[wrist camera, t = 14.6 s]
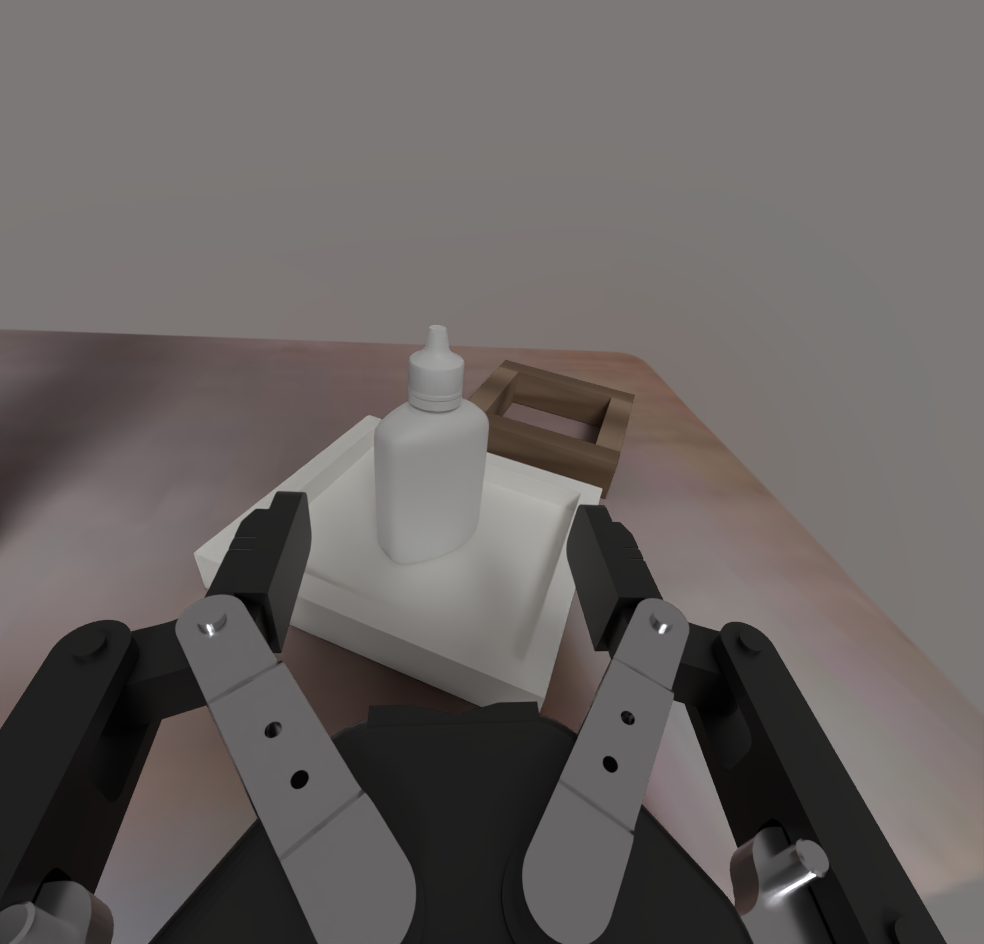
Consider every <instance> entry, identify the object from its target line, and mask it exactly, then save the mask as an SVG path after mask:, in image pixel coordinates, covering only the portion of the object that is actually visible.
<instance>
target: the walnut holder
mask: <svg viewBox="0 0 984 944" xmlns="http://www.w3.org/2000/svg"><path fill="white" fill-rule="evenodd" d="M634 396H635V395H633V394H629V393H626V392H622V391H618V390H615V389H611V388H607V387H603V386H600V385H596V384H592V383H589V382H585V381H581V380H578V379H574V378H570V377H567V376H563V375H559V374H556V373H552V372H548V371H544V370H541V369H537V368H533V367H530V366H526V365H522V364H519V363H515V362H511V361H508V360H505V361H504V362H503V363H502V364H501V365H500V366H499V368H498V369H497V370H496V371H495V372H494V373H493V374H492V375H491V376H490V377H489V378H488V379H487V380H486V382H485V383H484V384H483V385H482V386H481V387H480V388H479V389H478V390H477V391H476V392H475V393H474V394H473V395H472V397H471V398H470V399H469V400H468V401H470V402H472V403H474V404H475V405H476V406H478V407H479V408H480V409H481V410H482V411H483V412H484V413H485V414H486V416H487V418H488V421H489V433H488V444H487V452H488V453H491V454H494V455H497V456H501V457H504V458H507V459H510V460H513V461H517V462H520V463H523V464H526V465H529V466H532V467H536V468H539V469H542V470H545V471H548V472H551V473H555V474H558V475H561V476H564V477H567V478H571V479H574V480H577V481H580V482H583V483H586V484H590V485H593V486H596V487H599V488H602V492H601V496H600V497H601V498H604V499H605V498H606V495H607V492H608V490H609V487H610V484H611V481H612V478H613V476H614V473H615V470H616V467H617V464H618V460H619V456H620V452H621V448H622V444H623V440H624V436H625V432H626V428H627V424H628V420H629V416H630V412H631V408H632V404H633V400H634ZM513 402H515V403H518V404H522V405H525V406H529V407H532V408H536V409H539V410H543V411H546V412H549V413H553V414H556V415H560V416H563V417H567V418H570V419H574V420H577V421H581V422H584V423H588V424H591V425H594V426H598V427H601V430H600V433H599V436H598V439H597V442H596V444H593V443H589V442H586V441H583V440H579V439H576V438H573V437H569V436H566V435H562V434H559V433H556V432H552V431H549V430H546V429H542V428H539V427H535V426H532V425H529V424H525V423H522V422H519V421H515V420H512V419H509V418H505V417H502V416H503V415H504V413H505V412H506V411H507V409H508V408H509V407H510V405H511V404H512V403H513Z"/></svg>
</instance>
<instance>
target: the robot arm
mask: <svg viewBox="0 0 984 944" xmlns="http://www.w3.org/2000/svg"><path fill="white" fill-rule="evenodd" d="M311 541H312V531H311V523H310V514H309V506H308V498H307V494H306V492H290V491H277V492H276V493H275V496H274V498H273V500H272V503H271V505H270V507H269V509H255V510H253V511H252V512H251V513H250V514H249V515H248V516H247V517H245V518H244V519H243V520H242V521H241V523H240V525H239V527H238V529H237V531H236V533H235V536H234V539H233V540H232V542H231V544H230V546H229V550H228V551H227V552H226V554H225V556H224V558H223V561H222V563H221V565H220V567H219V569H218V571H217V573H216V575H215V577H214V579H213V581H212V584H211V586H210V588H209V590H208V592H207V594H206V596H205V597H204V598H203V599H200V600H198V601H197V602H195V603H193V604H192V605H190V606H189V607H188V608H187V609H185V610H184V612H183V613H182V614H181V615H180V617H179V618H178V619H176V620H173V621H171V622H167V623H164V624H160V625H156V626H152V627H148V628H144V629H139V630H135V631H130V629H129V628H128V626H127V625H125V624H124V623H122V622H119V621H115V620H102V621H96V622H92V623H89V624H86V625H84V626H81V627H79V628H77V629H75V630H73V631H72V632H70V633H69V634H67V635H66V636H64V637H63V638H62V639H61V640H60V641H59V642H58V643H57V644H56V645H55V646H54V647H53V649H52V650H51V651H50V653H49V654H48V656H47V658H46V659H45V661H44V662H43V664H42V665H41V667H40V668H39V670H38V672H37V673H36V675H35V676H34V678H33V679H32V681H31V682H30V684H29V686H28V687H27V689H26V690H25V692H24V693H23V695H22V696H21V698H20V700H19V701H18V703H17V704H16V706H15V707H14V709H13V710H12V712H11V714H10V715H9V717H8V718H7V720H6V721H5V723H4V724H3V726H2V727H1V729H0V944H111V941H112V937H113V929H114V922H113V916H112V913H111V911H110V909H109V908H108V906H107V905H106V904H105V903H103V902H102V901H101V900H100V899H98V898H97V897H96V896H94V893H95V890H96V888H97V885H98V882H99V880H100V877H101V875H102V872H103V869H104V867H105V864H106V862H107V859H108V857H109V854H110V851H111V849H112V846H113V844H114V841H115V839H116V836H117V833H118V831H119V828H120V826H121V823H122V821H123V818H124V815H125V813H126V810H127V808H128V805H129V803H130V800H131V797H132V795H133V792H134V790H135V787H136V785H137V782H138V779H139V777H140V774H141V772H142V769H143V766H144V764H145V761H146V759H147V756H148V754H149V751H150V748H151V746H152V743H153V741H154V738H155V736H156V733H157V730H158V728H159V725H160V723H161V720H162V719H164V718H168V717H171V716H174V715H177V714H180V713H183V712H186V711H190V710H193V709H196V708H199V707H202V706H205V705H207V707H208V710H209V712H210V714H211V716H212V718H213V721H214V723H215V725H216V727H217V730H218V732H219V734H220V736H221V738H222V741H223V743H224V745H225V747H226V749H227V752H228V754H229V756H230V758H231V761H232V763H233V765H234V767H235V770H236V772H237V774H238V776H239V779H240V781H241V783H242V785H243V788H244V790H245V792H246V794H247V797H248V799H249V801H250V803H251V806H252V808H253V810H254V812H255V814H256V817H257V819H256V821H255V822H254V823H253V824H252V825H251V826H250V827H249V829H248V830H247V831H246V832H245V833H244V834H243V835H242V837H241V838H240V839H239V840H238V841H237V842H236V843H235V845H234V846H233V847H232V848H231V849H230V850H229V852H228V853H227V854H226V855H225V856H224V857H223V858H222V860H221V861H220V862H219V863H218V864H217V865H216V866H215V868H214V869H213V870H212V871H211V872H210V873H209V874H208V876H207V877H206V878H205V879H204V880H203V881H202V882H201V884H200V885H199V886H198V887H197V888H196V889H195V890H194V892H193V893H192V894H191V895H190V896H189V897H188V899H187V900H186V901H185V902H184V903H183V904H182V905H181V907H180V908H179V909H178V910H177V911H176V912H175V913H174V915H173V916H172V917H171V918H170V919H169V920H168V921H167V923H166V924H165V925H164V926H163V927H162V928H161V929H160V931H159V932H158V933H157V934H156V935H155V936H154V937H153V939H152V940H151V941H150V942H149V943H148V944H947V943H946V942H945V940H944V938H943V936H942V935H941V933H940V931H939V930H938V928H937V926H936V925H935V923H934V921H933V919H932V918H931V916H930V914H929V912H928V911H927V909H926V907H925V905H924V904H923V902H922V900H921V898H920V897H919V895H918V893H917V892H916V890H915V888H914V886H913V885H912V883H911V881H910V880H909V878H908V876H907V874H906V873H905V871H904V869H903V867H902V866H901V864H900V862H899V861H898V859H897V857H896V855H895V854H894V852H893V850H892V849H891V847H890V845H889V843H888V842H887V840H886V838H885V836H884V835H883V833H882V831H881V830H880V828H879V826H878V824H877V823H876V821H875V819H874V817H873V816H872V814H871V812H870V811H869V809H868V807H867V805H866V804H865V802H864V800H863V799H862V797H861V795H860V793H859V792H858V790H857V788H856V786H855V785H854V783H853V781H852V780H851V778H850V776H849V774H848V773H847V771H846V769H845V768H844V766H843V764H842V762H841V761H840V759H839V757H838V755H837V754H836V752H835V750H834V749H833V747H832V745H831V743H830V742H829V740H828V738H827V736H826V735H825V733H824V731H823V730H822V728H821V726H820V724H819V723H818V721H817V719H816V718H815V716H814V714H813V712H812V711H811V709H810V707H809V705H808V704H807V702H806V700H805V699H804V697H803V695H802V693H801V692H800V690H799V688H798V687H797V685H796V683H795V681H794V680H793V678H792V676H791V674H790V673H789V671H788V669H787V668H786V666H785V664H784V662H783V661H782V659H781V657H780V655H779V654H778V652H777V650H776V649H775V647H774V645H773V644H772V642H771V641H770V640H769V639H768V638H767V637H766V636H765V635H764V634H763V633H762V632H761V631H759V630H758V629H756V628H754V627H753V626H751V625H748V624H745V623H742V622H730V623H727V624H725V625H724V626H723V628H722V629H721V631H720V632H719V631H716V630H712V629H709V628H705V627H702V626H698V625H695V624H692V623H689V622H688V621H687V619H686V618H685V616H684V615H683V613H682V612H681V611H680V610H679V609H678V608H676V607H675V606H674V605H672V604H670V603H669V602H666V601H664V600H663V598H662V596H661V594H660V592H659V590H658V588H657V586H656V584H655V582H654V579H653V577H652V575H651V573H650V571H649V569H648V567H647V565H646V563H645V561H643V556H642V554H641V552H640V550H638V546H637V544H636V541H635V539H634V537H633V535H632V534H631V533H630V532H629V531H628V530H627V529H626V528H625V527H624V526H623V525H622V524H621V523H620V522H612V519H611V517H610V515H609V513H608V510H607V508H606V507H605V506H604V505H586V504H580V505H579V506H578V508H577V510H576V514H575V517H574V520H573V523H572V526H571V530H570V533H569V536H568V539H567V545H566V554H567V560H568V563H569V567H570V570H571V573H572V577H573V580H574V583H575V587H576V590H577V593H578V597H579V600H580V603H581V607H582V610H583V613H584V617H585V620H586V624H587V627H588V630H589V634H590V637H591V640H592V644H593V647H594V650H595V651H608V652H609V655H610V658H611V661H610V663H609V665H608V667H607V669H606V671H605V673H604V676H603V678H602V680H601V682H600V684H599V686H598V689H597V691H596V693H595V695H594V697H593V699H592V702H591V704H590V706H589V708H588V710H587V712H586V715H585V717H584V719H583V721H582V723H581V725H580V727H579V729H578V732H577V734H576V733H574V732H573V731H572V730H571V729H569V728H568V727H566V726H565V725H563V724H562V723H560V722H558V721H556V720H554V719H551V718H549V717H546V716H543V715H540V714H539V709H538V703H537V701H534V702H498V703H494V704H491V705H488V706H484V707H481V708H478V709H475V710H471V711H468V712H465V713H461V714H449V713H445V712H441V711H437V710H432V709H428V708H424V707H420V706H416V705H384V706H369V715H368V719H366V720H363V721H360V722H357V723H355V724H353V725H350V726H348V727H347V728H345V729H343V730H341V731H340V732H338V733H337V734H335V735H334V736H333V737H331V738H330V737H329V735H328V734H327V732H326V730H325V729H324V727H323V726H322V724H321V722H320V721H319V719H318V717H317V716H316V714H315V712H314V711H313V709H312V707H311V706H310V704H309V702H308V701H307V699H306V697H305V696H304V694H303V692H302V691H301V689H300V688H299V686H298V684H297V683H296V681H295V679H294V678H293V676H292V674H291V673H290V671H289V669H288V668H287V666H286V665H285V664H284V663H283V662H282V661H280V662H278V660H277V659H276V658H275V656H274V654H273V653H281V651H282V648H283V644H284V641H285V637H286V634H287V631H288V627H289V624H290V620H291V617H292V613H293V610H294V606H295V603H296V599H297V596H298V592H299V589H300V585H301V582H302V578H303V575H304V571H305V568H306V564H307V561H308V557H309V554H310V549H311ZM673 700H674V701H678V702H681V703H684V704H685V706H686V709H687V712H688V715H689V717H690V720H691V723H692V725H693V728H694V731H695V734H696V736H697V739H698V742H699V744H700V747H701V750H702V753H703V755H704V758H705V761H706V763H707V766H708V769H709V772H710V774H711V777H712V780H713V782H714V785H715V788H716V791H717V793H718V796H719V799H720V801H721V804H722V807H723V810H724V812H725V815H726V818H727V820H728V823H729V826H730V829H731V831H732V834H733V837H734V839H735V842H736V845H737V848H738V849H736V851H735V852H734V853H733V855H732V858H731V862H730V876H731V881H732V885H733V893H734V897H735V907H734V906H733V904H732V903H731V901H730V900H729V899H728V897H727V896H726V895H725V894H724V892H723V891H722V890H721V889H720V888H719V887H718V886H717V884H716V883H715V882H714V881H713V880H712V879H711V878H710V877H709V876H708V875H707V874H706V873H705V871H704V870H703V869H702V868H701V867H700V866H699V865H698V864H697V863H696V862H695V861H694V860H693V858H692V857H691V856H690V855H689V854H688V853H687V852H686V851H685V850H684V849H683V848H682V847H681V846H680V844H679V843H678V842H677V841H676V840H675V839H674V838H673V837H672V836H671V835H670V834H669V833H668V831H667V830H666V829H665V828H664V827H663V826H662V825H661V824H660V823H659V822H658V821H657V820H656V818H655V817H654V816H653V815H652V814H651V813H650V812H649V811H648V810H647V809H646V808H645V807H644V805H643V804H642V800H643V797H644V794H645V791H646V787H647V784H648V781H649V777H650V774H651V771H652V768H653V764H654V761H655V758H656V754H657V751H658V748H659V744H660V741H661V738H662V735H663V731H664V728H665V725H666V721H667V718H668V715H669V711H670V708H671V705H672V702H673Z"/></svg>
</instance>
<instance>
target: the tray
mask: <svg viewBox="0 0 984 944" xmlns="http://www.w3.org/2000/svg"><path fill="white" fill-rule="evenodd" d="M381 420H382V419H380V418H377V417H374V416H370V415H368V416H366V417H365V418H364V419H363V420H361V421H360V422H359V423H358V424H356V425H355V426H354V427H352V428H351V429H350V430H349V431H347V432H346V433H345V434H344V435H342V436H341V437H340V438H339V439H337V440H336V441H335V442H333V443H332V444H331V445H330V446H328V447H327V448H326V449H325V450H323V451H322V452H321V453H320V454H318V455H317V456H316V457H314V458H313V459H312V460H311V461H309V462H308V463H307V464H306V465H304V466H303V467H302V468H300V469H299V470H298V471H297V472H295V473H294V474H293V475H292V476H290V477H289V478H288V479H287V480H285V481H284V482H283V483H281V484H280V485H279V486H278V487H276V488H275V489H274V490H273V491H271V492H270V493H269V494H268V495H266V496H265V497H264V498H262V499H261V500H260V501H259V502H257V503H256V504H255V505H254V506H252V507H251V508H250V509H249V510H247V511H246V512H245V513H243V514H242V515H241V516H240V517H238V518H237V519H236V520H235V521H233V522H232V523H231V524H229V525H228V526H227V527H226V528H224V529H223V530H222V531H221V532H219V533H218V534H217V535H216V536H214V537H213V538H212V539H210V540H209V541H208V542H207V543H205V544H204V545H203V546H202V547H200V548H199V549H198V550H197V551H195V552H194V556H195V559H196V562H197V565H198V568H199V571H200V574H201V577H202V580H203V583H204V586H205V589H208V590H209V588H210V586H211V584H212V581H213V579H214V577H215V575H216V573H217V571H218V569H219V567H220V565H221V563H222V561H223V558H224V556H225V554H226V552H227V551H228V550H229V546H230V544H231V542H232V540H233V539H234V536H235V533H236V531H237V529H238V527H239V525H240V523H241V521H242V520H243V519H244V518H245V517H247V516H248V515H249V514H250V513H251V512H252V511H253V510H255V509H269V507H270V505H271V503H272V500H273V498H274V496H275V493H276V492H277V491H290V492H306V494H307V498H308V506H309V514H310V523H311V531H312V541H311V549H310V554H309V557H308V561H307V564H306V568H305V571H304V575H303V578H302V582H301V585H300V589H299V592H298V596H297V599H296V603H295V606H294V610H293V613H292V617H291V620H290V624H289V625H292V626H294V627H296V628H299V629H301V630H303V631H306V632H308V633H310V634H313V635H315V636H317V637H320V638H322V639H324V640H327V641H329V642H331V643H334V644H336V645H338V646H340V647H343V648H345V649H347V650H350V651H352V652H354V653H357V654H359V655H361V656H364V657H366V658H368V659H371V660H373V661H375V662H378V663H380V664H382V665H385V666H387V667H389V668H392V669H394V670H396V671H399V672H401V673H403V674H406V675H408V676H410V677H413V678H415V679H417V680H420V681H422V682H424V683H427V684H429V685H431V686H434V687H436V688H438V689H441V690H443V691H445V692H448V693H450V694H452V695H455V696H457V697H459V698H462V699H464V700H466V701H469V702H471V703H473V704H475V705H478V706H480V707H484V706H488V705H491V704H494V703H498V702H534V701H537V703H538V709H539V713H540V710H541V708H542V705H543V702H544V700H545V697H546V693H547V689H548V686H549V682H550V678H551V675H552V671H553V667H554V664H555V660H556V656H557V653H558V649H559V646H560V642H561V638H562V635H563V631H564V627H565V624H566V620H567V616H568V613H569V609H570V605H571V602H572V598H573V594H574V591H575V583H574V580H573V577H572V573H571V570H570V567H569V563H568V560H567V554H566V545H567V539H568V536H569V533H570V530H571V526H572V523H573V520H574V517H575V514H576V510H577V508H578V506H579V505H580V504H586V505H598V503H599V500H600V496H601V492H602V488H599V487H596V486H593V485H590V484H586V483H583V482H580V481H577V480H574V479H571V478H567V477H564V476H561V475H558V474H555V473H551V472H548V471H545V470H542V469H539V468H536V467H532V466H529V465H526V464H523V463H520V462H517V461H513V460H510V459H507V458H504V457H501V456H497V455H494V454H491V453H488V452H487V453H486V462H485V471H484V480H483V488H482V497H481V505H480V514H479V522H478V526H477V529H476V531H475V533H474V534H473V535H472V536H471V537H470V538H469V539H468V540H467V541H466V542H465V543H463V544H462V545H461V546H459V547H458V548H456V549H455V550H453V551H451V552H449V553H447V554H445V555H443V556H440V557H438V558H435V559H431V560H428V561H423V562H418V563H412V564H399V563H396V562H394V561H393V560H392V559H391V558H390V557H389V556H388V555H387V553H386V552H385V551H384V549H383V548H382V547H381V545H380V544H379V541H378V535H377V513H376V490H375V464H374V432H375V429H376V427H377V425H378V424H379V422H380V421H381Z"/></svg>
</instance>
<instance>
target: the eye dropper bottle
mask: <svg viewBox="0 0 984 944" xmlns="http://www.w3.org/2000/svg"><path fill="white" fill-rule="evenodd" d="M463 375H464V360H463V359H462V358H461V357H460V356H459V355H457V354H456V353H453V352H451V351H450V349H449V344H448V337H447V329H446V327H444V326H441V325H432V326H430V328H429V333H428V337H427V341H426V345H425V348H424V349H423V350H419V351H417V352H414V353H413V354H412V355H411V356H410V357H409V371H408V399H409V401H407V402H405V403H404V404H402V405H400V406H399V407H397V408H396V409H394V410H393V411H392V412H390V413H389V414H388V415H387V416H385V417H384V418H383V419H382V420H381V421H380V422H379V424H378V425H377V427H376V429H375V432H374V464H375V490H376V513H377V535H378V541H379V544H380V545H381V547H382V548H383V549H384V551H385V552H386V553H387V555H388V556H389V557H390V558H391V559H392V560H393V561H394V562H396V563H399V564H412V563H418V562H423V561H428V560H431V559H435V558H438V557H440V556H443V555H445V554H447V553H449V552H451V551H453V550H455V549H456V548H458V547H459V546H461V545H462V544H463V543H465V542H466V541H467V540H468V539H469V538H470V537H471V536H472V535H473V534H474V533H475V531H476V529H477V526H478V522H479V514H480V505H481V497H482V488H483V480H484V471H485V462H486V453H487V444H488V433H489V421H488V418H487V416H486V414H485V413H484V412H483V411H482V410H481V409H480V408H479V407H478V406H476V405H475V404H474V403H472V402H470V401H468V400H466V399H463V398H462V388H463Z"/></svg>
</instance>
